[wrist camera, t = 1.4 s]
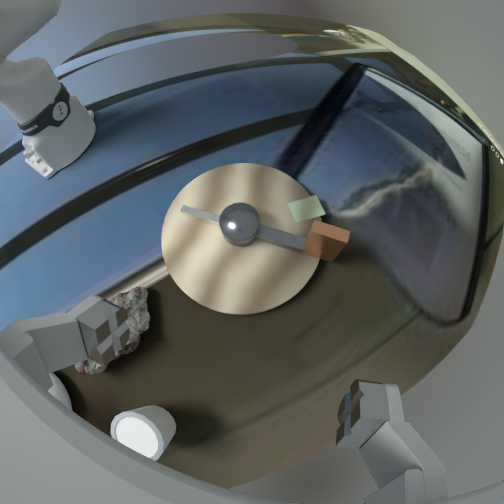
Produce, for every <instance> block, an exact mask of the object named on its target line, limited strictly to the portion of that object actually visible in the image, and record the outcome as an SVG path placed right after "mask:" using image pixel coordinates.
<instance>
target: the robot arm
mask: <svg viewBox="0 0 504 504" xmlns="http://www.w3.org/2000/svg"><path fill="white" fill-rule="evenodd" d="M61 2H62V0H0V103H1V104H2V105H3V106H4V107H5V108H6V109H7V110H8V111H9V112H10V114H11V115H12V116H13V117H14V118H15V119H16V121H17V124H18V126H19V129H20V130H21V132H22V133H23V135H24V136H23V141H22V145H23V146H24V147H25V148H26V150H25V152H24V153H23V155H24V156H25V157H26V160H25V161H26V163H27V164H28V165H30V166H31V167H32V168H33V169H34V170H36V171H37V172H38V173H39V174H41V175H42V176H43V177H44V178H46V179H49V178H50V177H51V176H53V175H54V174H55V173H56V172H57V171H58V170H60V169H62V168H64V167H66V166H67V165H69V164H71V163H72V162H73V161H74V160H76V159H77V158H78V157H79V156H80V155H81V154H82V153H83V152H84V151H85V149H86V148H87V147H88V145H89V144H90V142H91V141H92V139H93V137H94V134H95V130H96V126H95V123H94V121H93V119H94V113H93V111H87V110H86V109H85V108H84V106H83V105H82V104H81V102H80V101H79V100H78V98H77V97H76V96H70V94H69V93H68V91H67V89H66V87H65V86H64V85H63V84H62V83H59V81H58V79H57V78H56V76H55V74H54V73H53V71H52V69H51V68H50V66H49V64H48V62H47V61H46V60H44V59H43V58H39V57H34V58H29V59H26V60H23V61H20V62H12V61H9V60H8V59H7V58H6V57H7V56H8V55H9V54H10V53H11V52H12V51H14V50H15V49H16V48H17V47H19V46H20V45H21V44H22V43H24V42H25V41H26V40H28V39H29V38H30V37H31V36H33V35H34V34H35V33H37V32H38V31H39V30H40V29H41V28H42V27H43V26H45V25H46V24H47V23H48V22H49V21H50V20H51V19H53V18H54V17H55V16H56V15H57V13H58V11H59V9H60V6H61ZM127 319H128V315H127V310H125V309H124V308H122V307H120V306H118V305H116V304H114V303H112V302H110V301H108V300H106V299H103V298H101V297H99V296H97V295H91V296H90V297H89V298H87V299H86V300H84V301H83V302H81V303H80V304H79V305H77V306H76V307H74V308H73V309H72V310H70V311H69V312H68V313H64V312H62V313H57V314H51V315H46V316H40V317H35V318H29V319H23V320H18V321H14V322H13V323H12V324H10V325H9V326H7V327H6V328H5V329H3V330H2V331H1V332H0V504H297V503H290V502H283V501H277V500H272V499H267V498H262V497H258V496H253V495H249V494H245V493H241V492H237V491H234V490H230V489H227V488H224V487H220V486H217V485H214V484H211V483H208V482H205V481H202V480H199V479H197V478H194V477H191V476H189V475H186V474H184V473H181V472H179V471H176V470H174V469H172V468H169V467H167V466H165V465H163V464H160V463H158V462H156V461H154V460H152V459H150V458H148V457H146V456H144V455H142V454H140V453H138V452H136V451H134V450H132V449H131V448H129V447H127V446H125V445H123V444H122V443H120V442H118V441H117V440H115V439H113V438H112V437H110V436H108V435H107V434H105V433H103V432H102V431H100V430H99V429H97V428H96V427H94V426H93V425H91V424H90V423H88V422H87V421H85V420H84V419H83V418H81V417H80V416H78V415H77V414H76V413H74V412H73V411H72V410H70V409H69V408H68V407H66V406H65V405H64V404H63V403H61V402H60V401H59V400H58V399H56V398H55V397H54V396H53V395H51V394H50V393H49V392H48V390H49V389H50V388H51V387H52V386H53V382H52V380H51V378H50V376H49V373H52V372H54V371H57V370H60V369H63V368H65V367H68V366H71V365H73V364H76V363H79V362H81V361H84V360H87V359H88V358H89V359H91V360H93V361H94V362H96V363H98V364H100V365H102V366H103V367H105V366H106V365H107V364H108V363H109V362H110V361H111V360H112V359H113V358H114V357H115V351H119V350H122V349H123V348H124V347H125V346H126V344H127V342H128V340H129V335H130V330H129V326H128V325H127V323H126V320H127ZM350 389H351V392H350V393H348V394H346V395H345V396H344V398H343V399H342V401H341V404H340V407H339V410H338V419H337V420H338V421H339V423H340V424H341V425H340V427H339V428H338V429H337V436H336V446H340V447H347V448H355V449H359V452H360V454H361V456H362V458H363V460H364V462H365V464H366V465H367V467H368V469H369V471H370V473H371V475H372V477H373V479H374V480H375V483H376V484H377V486H378V488H379V489H378V490H377V491H375V492H374V493H372V494H370V495H368V496H367V497H366V498H364V504H504V480H503V481H500V482H497V483H495V484H493V485H489V486H487V487H483V488H480V489H477V490H474V491H471V492H467V493H464V494H460V495H456V496H452V497H448V490H447V480H446V472H445V465H444V464H443V463H442V462H441V461H440V459H439V458H438V457H437V456H436V455H435V453H434V452H433V451H432V450H431V449H430V447H429V446H428V445H427V444H426V443H425V442H424V441H423V439H422V438H421V437H420V436H419V434H418V433H417V432H416V431H415V430H414V429H413V427H412V426H411V425H410V424H409V423H408V422H405V421H404V415H403V409H402V403H401V398H400V393H399V388H398V386H397V385H395V384H387V383H378V382H371V381H365V380H359V379H356V380H355V381H354V382H353V383H352V385H351V386H350Z"/></svg>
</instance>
